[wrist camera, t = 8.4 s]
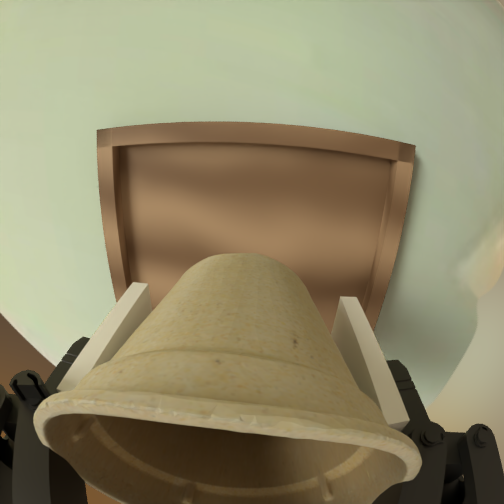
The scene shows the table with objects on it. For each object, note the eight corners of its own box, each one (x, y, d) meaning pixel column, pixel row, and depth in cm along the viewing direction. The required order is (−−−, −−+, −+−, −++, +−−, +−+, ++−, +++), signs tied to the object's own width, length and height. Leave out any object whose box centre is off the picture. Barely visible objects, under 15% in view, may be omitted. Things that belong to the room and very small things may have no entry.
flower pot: (384, 251, 11) (503, 418, 3) (300, 394, 15) (309, 534, 7) (160, 180, 10) (-28, 301, 2) (138, 352, 14) (77, 487, 6)
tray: (108, 129, 16) (96, 130, 15) (405, 143, 16) (415, 145, 14) (139, 355, 24) (134, 366, 23) (350, 370, 24) (353, 381, 22)
